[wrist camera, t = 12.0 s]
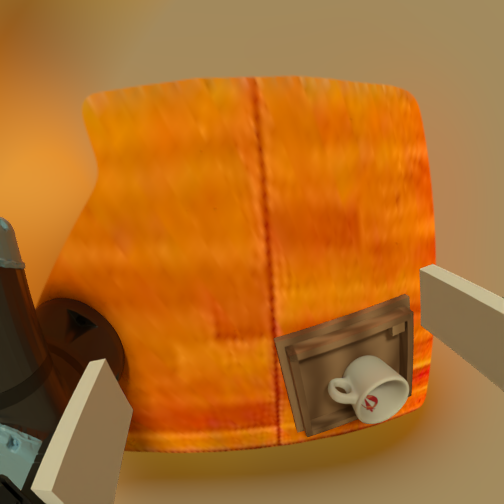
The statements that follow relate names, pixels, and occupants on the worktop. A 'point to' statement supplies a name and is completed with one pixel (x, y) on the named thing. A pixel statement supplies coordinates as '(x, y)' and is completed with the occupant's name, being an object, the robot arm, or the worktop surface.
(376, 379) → the cup
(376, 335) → the square wooden tray
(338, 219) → the worktop surface
